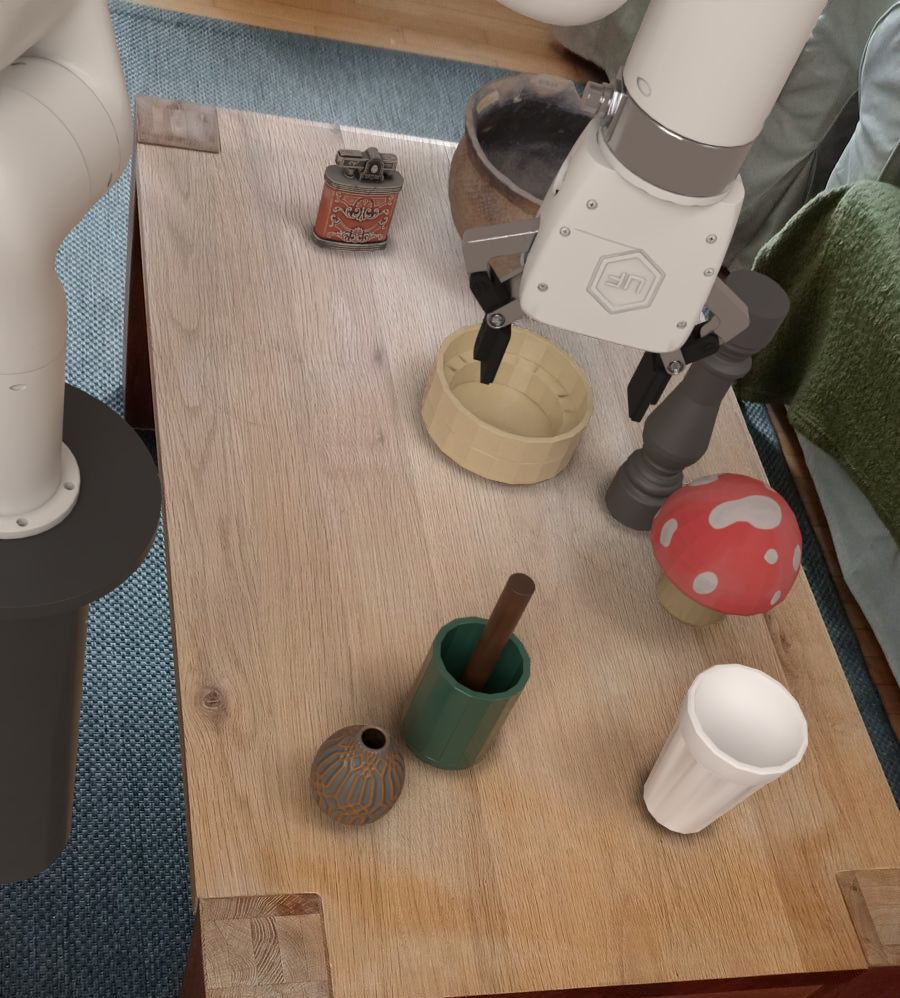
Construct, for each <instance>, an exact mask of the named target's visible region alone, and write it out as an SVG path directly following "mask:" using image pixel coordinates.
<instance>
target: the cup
mask: <svg viewBox="0 0 900 998" xmlns="http://www.w3.org/2000/svg"><path fill="white" fill-rule="evenodd" d="M808 729H809V727H808V722H807V720H806V717H805V715H804V713H803V711H802V708H801V706H800V704H799V702H798V701H797V700H796V698H795V697H794V696H793V695H792V694H791V693H790V692H789V690H788V689H787V688H786V687H785V686H784V685H783V684H782V683H781V682H779V681H778V680H776V679H775V678H773V677H771V676H770V675H769V674H767V673H765V672H763V671H762V670H760V669H757V668H754V667H750V666H748V665H747V666H746V665H743V664H740V663H724V664H714V665H712V666H710V667H708V668H706V669H705V670H703V671H701V672H699V673H697V675H696V677H695V678H694V679H693V682H692V683H691V685H690V687H689V688H688V690H687V692H686V693H685V696H684V698H683V700H682V701H681V703H680V710H679V714H678V716H677V718H676V721H675V722H674V724H673V726H672V728H671V730H670V733H669V734H668V736H667V738H666V740H665V742H664V745H663V746H662V748H661V751H660V752H659V755H658V756H657V758H656V760H655V763H654V765H653V767H652V769H651V771H650V773H649V775H648V777H647V779H646V781H645V783H644V784H643V797H642V798H643V800H644V803H645V805H646V808H647V811H648V812H649V814H650V815H651V817H653V818H654V819H655V821H656V822H657V823H658V824H660V825H662V826H663V827H665V828H666V829H668V830H669V831H672V832H675V833H679V834H683V835H686V834H687V835H688V834H696V833H699V832H700V831H702V830H705V828H707V827H708V826H710V825H711V824H713V823H714V822H715V821H716V820H718V819H720V818H721V817H723V816H724V815H725V814H727V813H728V812H729V811H732V809H733V808H735V807H737V806H738V805H739V804H741V803H743V802H744V801H745V800H746V799H748V798H750V797H751V796H752V795H754V794H755V793H756V792H758V791H759V790H761V789H763V787H765V786H766V785H768V784H769V783H772V782H774V781H776V780H777V779H778V778H781V777H782V776H783V775H785V774H787V773H788V772H789V771H791V770H792V769H793V768H794V767H796V766H797V765H799V764H800V762H801V761H802V759H803V756H804V755H805V752H806V750H807V748H808V746H809V730H808Z"/></svg>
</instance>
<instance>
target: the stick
mask: <svg viewBox="0 0 900 998" xmlns="http://www.w3.org/2000/svg"><path fill="white" fill-rule="evenodd" d="M535 592H536V583H535V581H534V579H533V578H532V577H530V576H529V575H528V574H526V573H522V572H515V573H512V574H511V575H509V577H508V578H507V581H506V583H505V585H504V586H503V589H502V591H501V593H500V595H499V597H498V598H497V600H496V602H495V605H494V608H493V610H492V611H491V613H490V615H489V616H488V617H489V618H487V619H488V621H487V623H486V625H485V627H484V629H483V631H482V633H481V635H480V637H479V639H478V641H477V643H476V645H475V648H474V650H473V652H472V654H471V656H470V658H469V660H468V662H467V664H466V666H465V668H464V670H463V672H462V674H461V676H460V678H459V680H458V683H460V684H461V685H463V686H465V687H467V688H469V689H471V690H472V691H476V692H482V690H483V688H484V686H485V685H486V683H487V681H488V679H489V677H490V675H491V673H492V671H493V669H494V667H495V666H496V664H497V662H498V660H499V658H500V656H501V654H502V652H503V650H504V648H505V647H506V645H507V643H508V641H509V639H510V637H511V635H512V633H513V634H514V631H515V629H516V627H517V626H518V623H519V622H520V620H521V618H522V616H523V614H524V612H525V610H526V609H527V607H528V605H529V603H530V601H531V599H532V597H533V595H534V593H535Z"/></svg>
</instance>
